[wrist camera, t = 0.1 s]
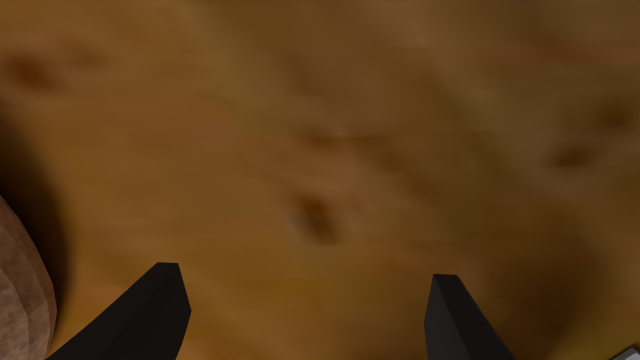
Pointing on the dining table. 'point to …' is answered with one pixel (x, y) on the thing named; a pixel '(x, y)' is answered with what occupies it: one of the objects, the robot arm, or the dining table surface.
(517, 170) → the dining table surface
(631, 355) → the mat
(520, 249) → the dining table surface
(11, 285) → the bread
